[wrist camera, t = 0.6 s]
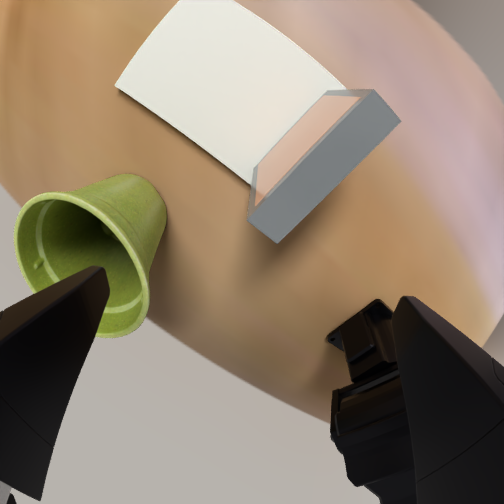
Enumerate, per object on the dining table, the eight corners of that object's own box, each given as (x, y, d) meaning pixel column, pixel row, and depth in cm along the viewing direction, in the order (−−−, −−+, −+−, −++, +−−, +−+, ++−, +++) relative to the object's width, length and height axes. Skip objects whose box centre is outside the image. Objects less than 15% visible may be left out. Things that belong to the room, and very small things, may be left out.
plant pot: (84, 248, 22) (31, 312, 15) (82, 144, 18) (2, 183, 10) (180, 273, 23) (149, 355, 16) (197, 162, 18) (153, 214, 11)
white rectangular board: (365, 110, 16) (368, 111, 15) (275, 202, 20) (275, 205, 19) (200, -16, 12) (198, -19, 11) (118, 85, 15) (114, 85, 15)
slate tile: (345, 107, 16) (401, 121, 9) (272, 183, 18) (277, 244, 12) (327, 90, 15) (373, 88, 8) (253, 168, 18) (246, 220, 11)
